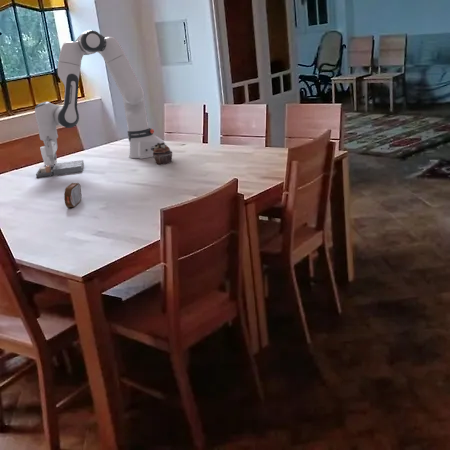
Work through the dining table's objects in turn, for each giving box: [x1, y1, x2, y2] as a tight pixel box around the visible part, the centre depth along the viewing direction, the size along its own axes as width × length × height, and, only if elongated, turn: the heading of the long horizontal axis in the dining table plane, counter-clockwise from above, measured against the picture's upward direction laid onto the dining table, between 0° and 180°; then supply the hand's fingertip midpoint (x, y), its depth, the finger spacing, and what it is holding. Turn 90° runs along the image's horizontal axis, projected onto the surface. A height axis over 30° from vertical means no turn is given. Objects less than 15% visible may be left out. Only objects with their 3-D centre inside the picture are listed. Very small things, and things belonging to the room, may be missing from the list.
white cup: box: [39, 145, 58, 166], centre depth 350 cm, size 8×8×10 cm
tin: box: [63, 182, 83, 209], centre depth 260 cm, size 15×3×8 cm, turn 175°
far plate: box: [53, 159, 85, 177], centre depth 329 cm, size 14×16×3 cm
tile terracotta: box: [44, 165, 52, 173], centre depth 324 cm, size 4×4×2 cm
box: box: [35, 165, 55, 179], centre depth 328 cm, size 8×16×2 cm, turn 9°
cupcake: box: [153, 143, 173, 166], centre depth 320 cm, size 10×10×10 cm
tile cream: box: [39, 166, 46, 173], centre depth 331 cm, size 4×4×2 cm
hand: (54, 161), depth 327 cm, fingers open, 8 cm apart
